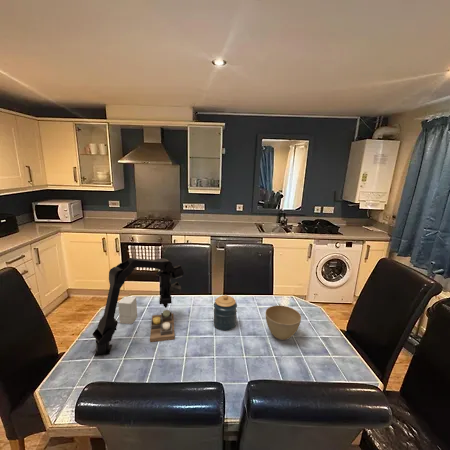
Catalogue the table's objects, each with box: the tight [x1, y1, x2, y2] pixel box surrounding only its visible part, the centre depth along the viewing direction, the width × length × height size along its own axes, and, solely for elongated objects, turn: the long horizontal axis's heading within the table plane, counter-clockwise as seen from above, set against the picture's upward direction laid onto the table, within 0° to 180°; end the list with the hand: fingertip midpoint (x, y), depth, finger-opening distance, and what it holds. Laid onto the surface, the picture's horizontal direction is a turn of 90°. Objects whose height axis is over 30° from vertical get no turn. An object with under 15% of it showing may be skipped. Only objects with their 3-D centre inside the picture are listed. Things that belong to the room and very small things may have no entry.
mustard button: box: [153, 317, 161, 325], centre depth 135 cm, size 4×4×2 cm
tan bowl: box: [265, 305, 302, 341], centre depth 132 cm, size 18×18×12 cm
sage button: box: [162, 309, 171, 318], centre depth 141 cm, size 4×4×2 cm
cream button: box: [163, 322, 170, 331], centre depth 130 cm, size 4×4×2 cm
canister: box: [213, 294, 238, 331], centre depth 140 cm, size 13×13×18 cm
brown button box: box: [149, 311, 176, 343], centre depth 136 cm, size 21×12×4 cm, turn 13°
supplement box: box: [117, 296, 138, 325], centre depth 142 cm, size 7×7×13 cm
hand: (165, 307), depth 141 cm, fingers closed
